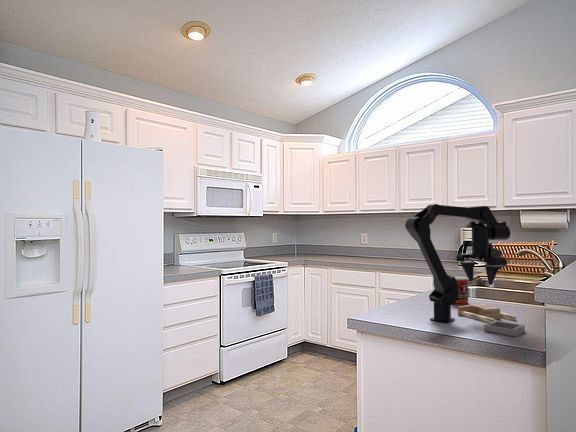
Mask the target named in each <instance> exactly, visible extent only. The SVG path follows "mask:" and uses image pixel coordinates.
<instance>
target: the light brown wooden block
mask: <svg viewBox="0 0 576 432" xmlns="http://www.w3.org/2000/svg"><path fill="white" fill-rule="evenodd" d="M478 304H479V305H475V304H470V305H471V313H473V314H477V315H481V316H485V317H489V318H493V319H495V320H500V319H501V317H500V312H501V308H499V307H496V306H493V305H489V304H486V303H483V304H482V303H478Z"/></svg>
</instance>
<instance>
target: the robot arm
mask: <svg viewBox="0 0 576 432" xmlns="http://www.w3.org/2000/svg"><path fill="white" fill-rule="evenodd" d="M437 216H443V217H453V218H462V219H465V220H467V221H470V222H469V223H468V224H467V225H465V228H467V229H471V242H469V243H468V244H469V247H471V253H458V254H457V255H456V262H458V264H460V266H461V267H462V269H463V271H464V272H465V275H466V277H467V278H468V282H473V281H474V271H475V270H474V267H475V265H476V264H477V262H479V263H485V264H486V265H484V267H485V268H484V269H485V271H486V277H487V282H488V285H489V286H491V285H493V284H494V281H495V278H496V276H497V274H498V272H499V271H500V269H502V268H504V267H505V266H507V265H508V259H507V258H506V257H505V256H502V255H503V251H502V250H499V249H497V248H495V247H493V243H492V242H490V241H507V240H509V239H510V236H511V229H510V227H509V225H507V221H498V220H497V218H496V217H495V216H494V215H493V213H492V210H491V208H490V207H489V206H487V205H479V206H467V207H465V206H464V207H463V206H456V205H455V206H453V205H443V204H438V203H433V204H428V205H427V206H425V208H423V209H422V210H420V211H419V212H417V213H416V214H415V215H414V216H411V217H409V218H407V220H406V222H405V224H404V227H405V229H406V231H407V232H408V234H409V235H410V237H412V238H413V239H414V240H415V242H416V243H417V244H418V247H419V249H420V251H421V253H422V256H423V257H424V260H425V262H426V264H427V266H428V268H429V271H430V272H431V275H432V278H433V283H432V284H433V288H434V289H433V290H432V291H431V293H430V294H429V295H428V298H429V301H430V302H432V303H433V316H432V317H431V318H429V320H430V321H433V322H438V323H445V324H447V323H450V322H453V321H456V318H453V317H452V314H451V313H452V309H451V307H452V306H455V305H456V304H455V301H456V298H457V297H458V294H459V288H458V287H460V286H459V285H458V284H457V282H456V279H455V277H453V276H454V275H453V276H452V275H449V274H448V273H447V272H446V270H445V268H444V265H443V263H442V261H441V259H440V257H439V254H438V252H437V250H436V248H435V245H434V244H433V242H432V239H431V226H430V225H431V224H433V223H434V221H435V219H436V218H437Z"/></svg>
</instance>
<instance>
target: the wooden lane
mask: <svg viewBox="0 0 576 432" xmlns="http://www.w3.org/2000/svg"><path fill="white" fill-rule="evenodd" d="M479 304H480V303H474V305H479ZM471 305H472V304H469V305H468V304H466V305H460V306H457V315H459V316H462V317H466V318H469V319H473V320H477V321H481V322H485V323H487V324H488V323H490V322H493V321H495V320H496V319H493V318H489V317H485V316H481V315H477V314H473V313H471ZM501 318H502V319H506V320H509V321H517V316H516V315H514V314H509V313H505V312H501V311H500V319H501Z"/></svg>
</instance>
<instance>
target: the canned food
mask: <svg viewBox="0 0 576 432" xmlns="http://www.w3.org/2000/svg"><path fill="white" fill-rule="evenodd" d="M453 277H455V279H456V282H457V284H458V285H459V286H460V287H458V288H459V294H458V297H457V298H456V301H455V305H468V303H469V279H468V277H467V276H462V275H461V276H460V275H459V276H457V275H455V276H454V275H453Z"/></svg>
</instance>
